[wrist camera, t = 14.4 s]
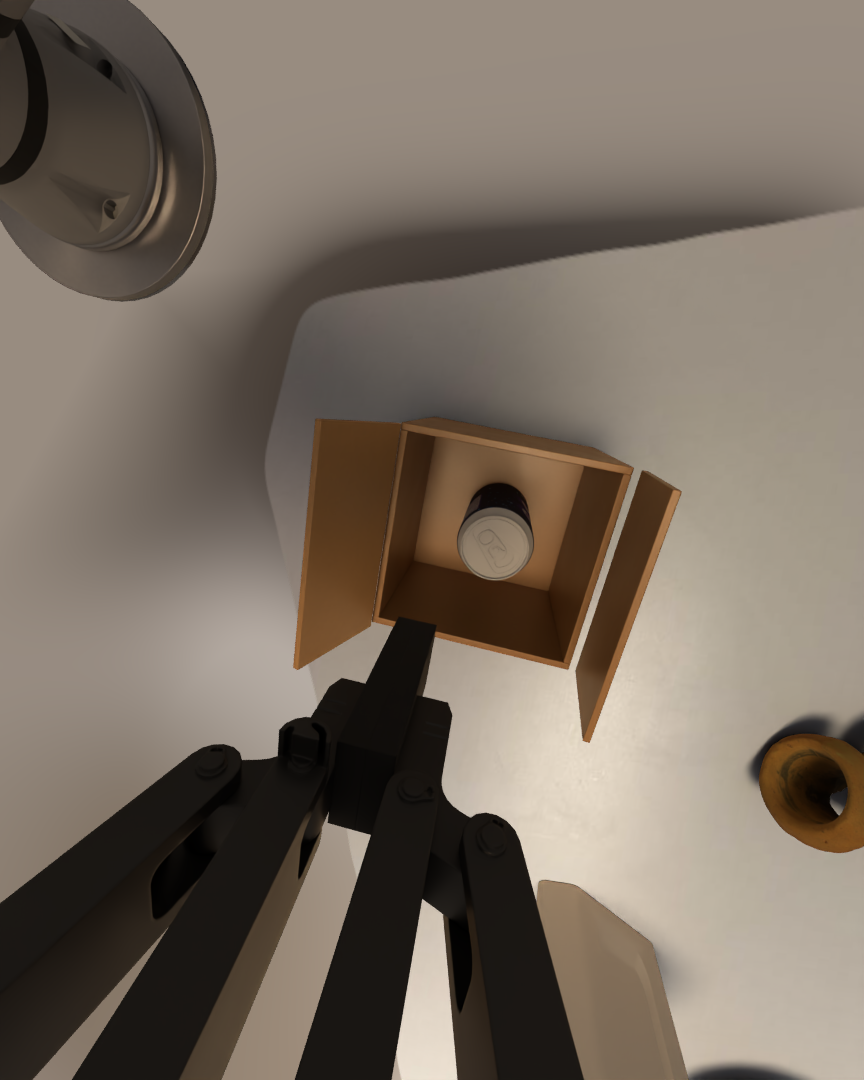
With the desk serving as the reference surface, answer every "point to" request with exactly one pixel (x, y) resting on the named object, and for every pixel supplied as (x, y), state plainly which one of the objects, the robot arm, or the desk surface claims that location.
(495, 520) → the beverage can
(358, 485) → the flap
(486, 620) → the carton
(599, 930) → the tall recessed triangular prism
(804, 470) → the desk surface
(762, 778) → the brown looped sculpture
